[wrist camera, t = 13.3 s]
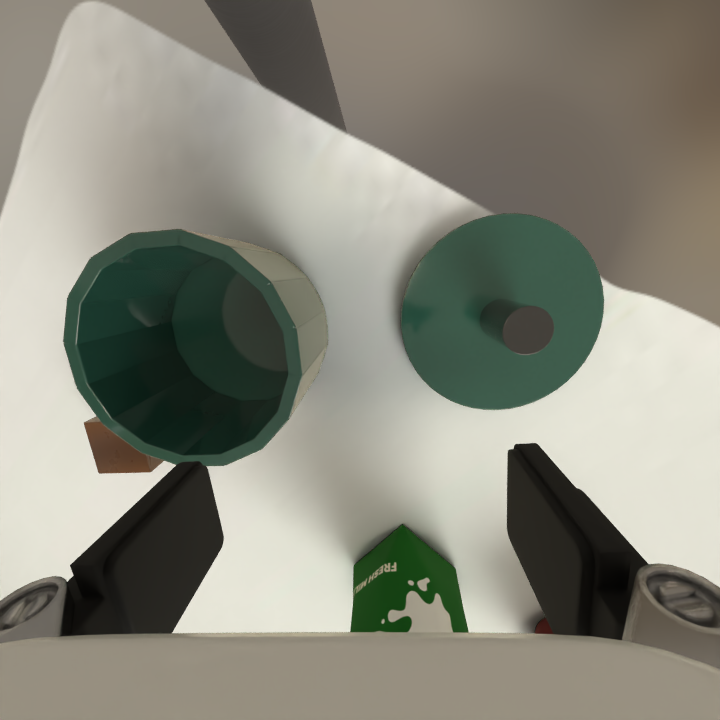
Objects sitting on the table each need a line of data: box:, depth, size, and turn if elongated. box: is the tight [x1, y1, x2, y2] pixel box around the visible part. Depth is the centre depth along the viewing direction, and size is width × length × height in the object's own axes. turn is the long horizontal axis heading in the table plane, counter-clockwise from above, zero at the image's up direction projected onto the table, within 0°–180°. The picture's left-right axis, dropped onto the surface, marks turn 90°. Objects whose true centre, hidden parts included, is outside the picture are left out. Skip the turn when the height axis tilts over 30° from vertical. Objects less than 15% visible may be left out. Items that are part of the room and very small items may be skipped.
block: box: [84, 416, 164, 473], centre depth 29 cm, size 4×4×4 cm
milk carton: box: [350, 524, 469, 633], centre depth 24 cm, size 9×9×20 cm
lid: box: [401, 213, 604, 410], centre depth 23 cm, size 15×15×6 cm
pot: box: [63, 229, 328, 466], centre depth 24 cm, size 14×14×10 cm
